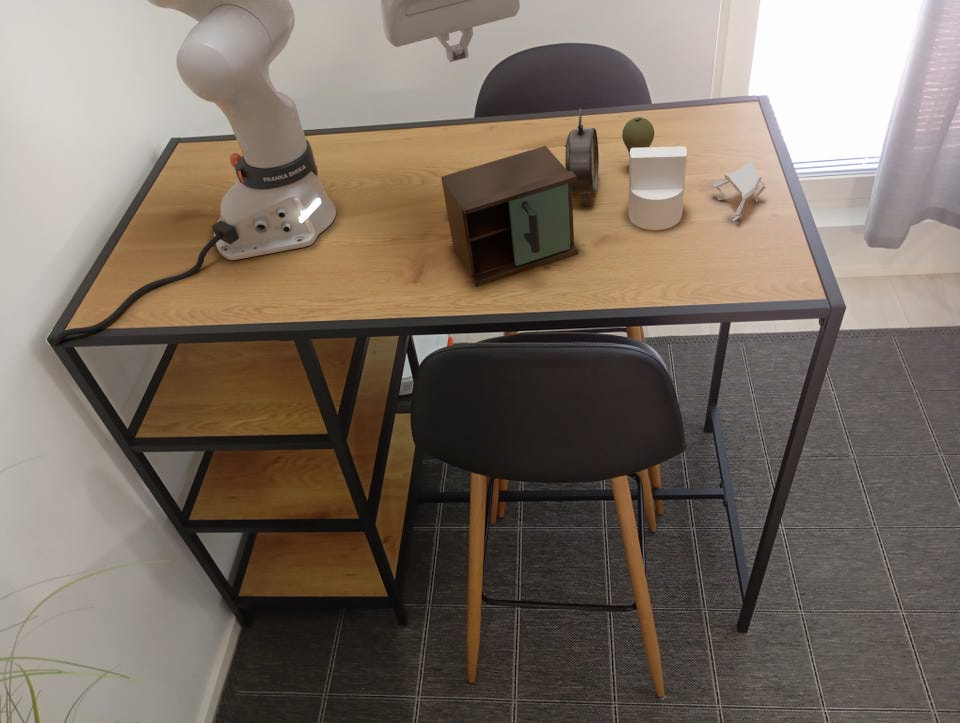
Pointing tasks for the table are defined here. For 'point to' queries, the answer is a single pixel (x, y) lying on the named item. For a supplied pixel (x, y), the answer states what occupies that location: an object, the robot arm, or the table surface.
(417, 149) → the table surface
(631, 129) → the olive green rounded piece
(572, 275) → the table surface
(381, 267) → the table surface
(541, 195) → the green sliding door
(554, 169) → the brown wooden cabinet
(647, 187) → the base with upright slab
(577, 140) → the alarm clock
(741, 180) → the white flat-topped legged piece
